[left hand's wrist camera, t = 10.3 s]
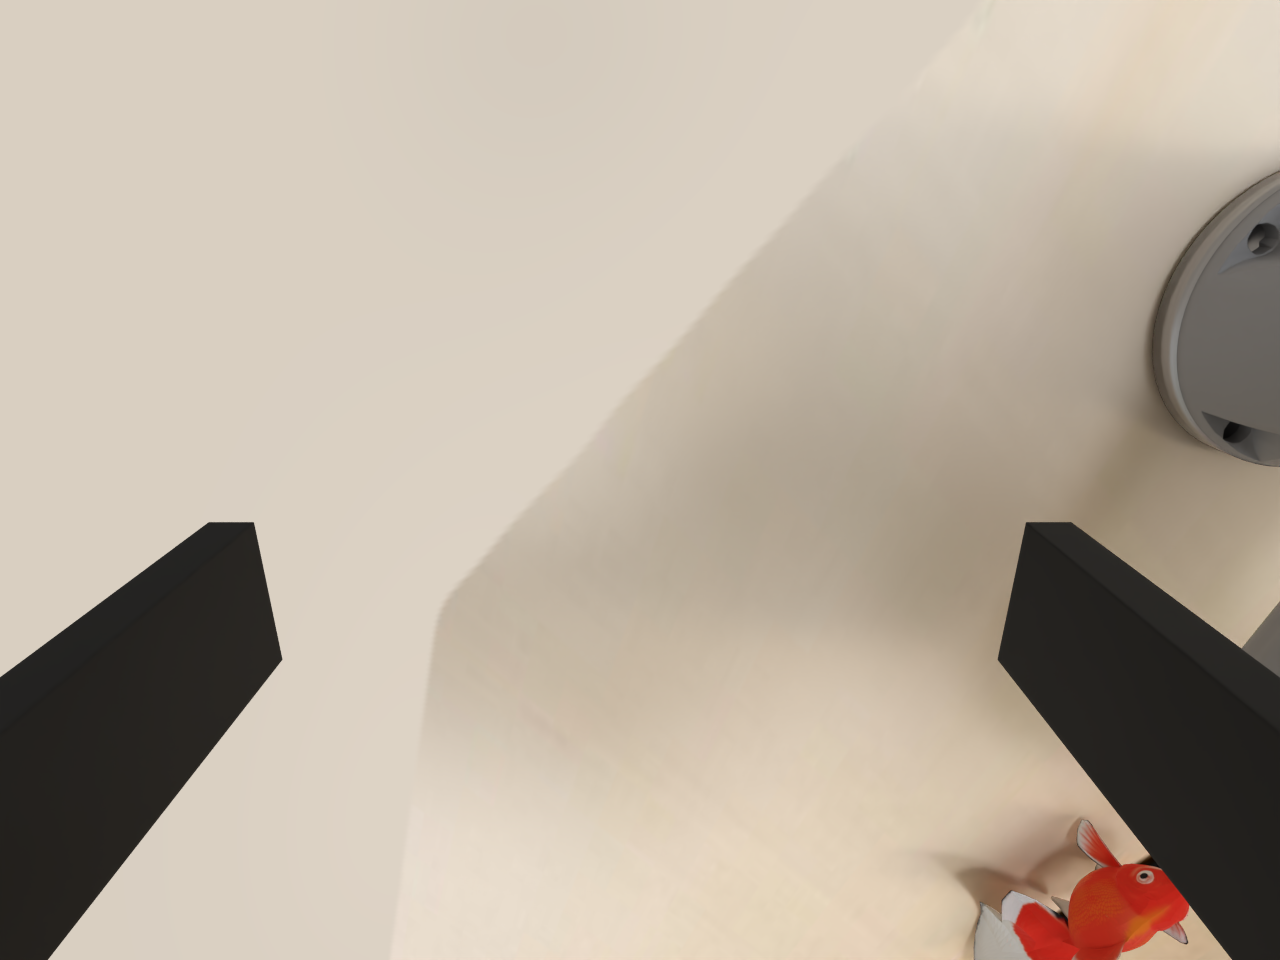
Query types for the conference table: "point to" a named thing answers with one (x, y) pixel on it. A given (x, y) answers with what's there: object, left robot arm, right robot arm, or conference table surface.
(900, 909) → the conference table surface
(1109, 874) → the fish
